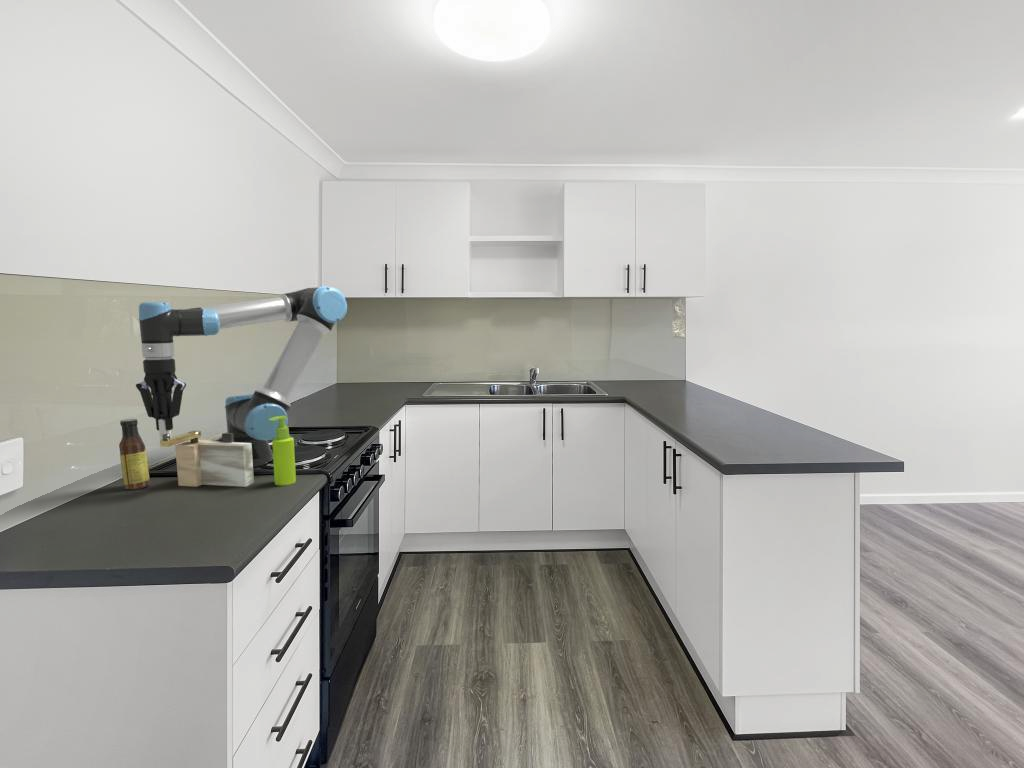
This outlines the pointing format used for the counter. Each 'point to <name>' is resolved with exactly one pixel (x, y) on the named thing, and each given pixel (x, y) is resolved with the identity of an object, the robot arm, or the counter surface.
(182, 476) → the door frame
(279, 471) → the soap dispenser
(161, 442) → the swing bar
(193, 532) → the counter surface
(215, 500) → the counter surface
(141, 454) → the sauce bottle
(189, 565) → the counter surface
